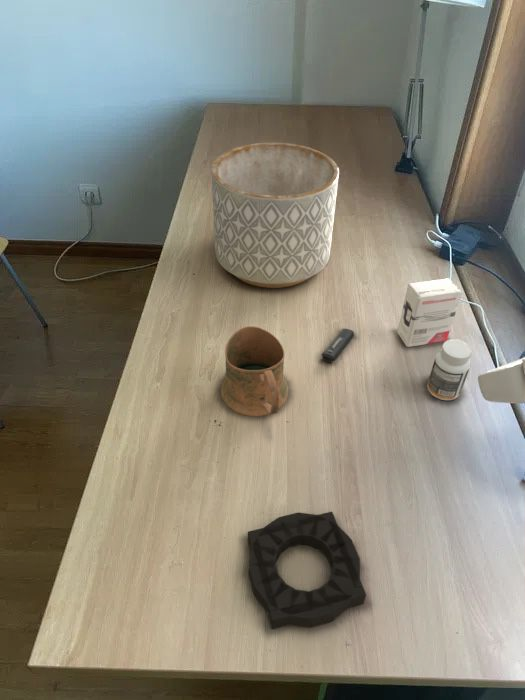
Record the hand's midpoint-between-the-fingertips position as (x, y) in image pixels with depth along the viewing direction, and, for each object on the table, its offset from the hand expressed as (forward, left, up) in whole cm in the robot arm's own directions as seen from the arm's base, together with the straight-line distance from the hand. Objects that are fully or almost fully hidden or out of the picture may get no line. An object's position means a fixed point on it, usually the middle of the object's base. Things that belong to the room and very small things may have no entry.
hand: (507, 368), depth 84 cm
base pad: (-16, +36, -13) cm, 42 cm away
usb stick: (+24, +16, -13) cm, 32 cm away
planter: (+55, +20, -13) cm, 60 cm away
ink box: (+23, -1, -13) cm, 27 cm away
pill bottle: (+9, +2, -13) cm, 16 cm away
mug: (+14, +34, -13) cm, 39 cm away
